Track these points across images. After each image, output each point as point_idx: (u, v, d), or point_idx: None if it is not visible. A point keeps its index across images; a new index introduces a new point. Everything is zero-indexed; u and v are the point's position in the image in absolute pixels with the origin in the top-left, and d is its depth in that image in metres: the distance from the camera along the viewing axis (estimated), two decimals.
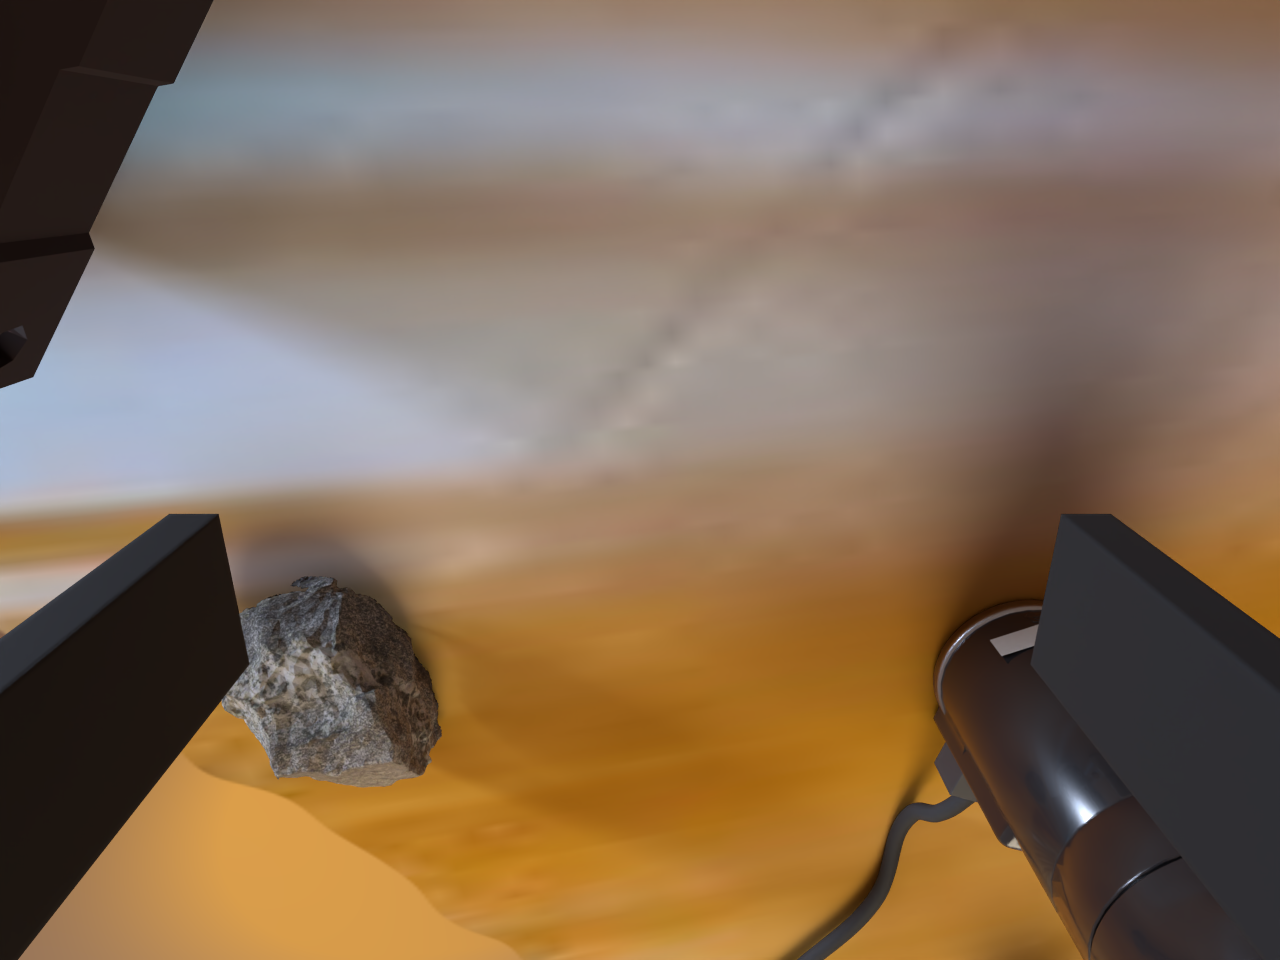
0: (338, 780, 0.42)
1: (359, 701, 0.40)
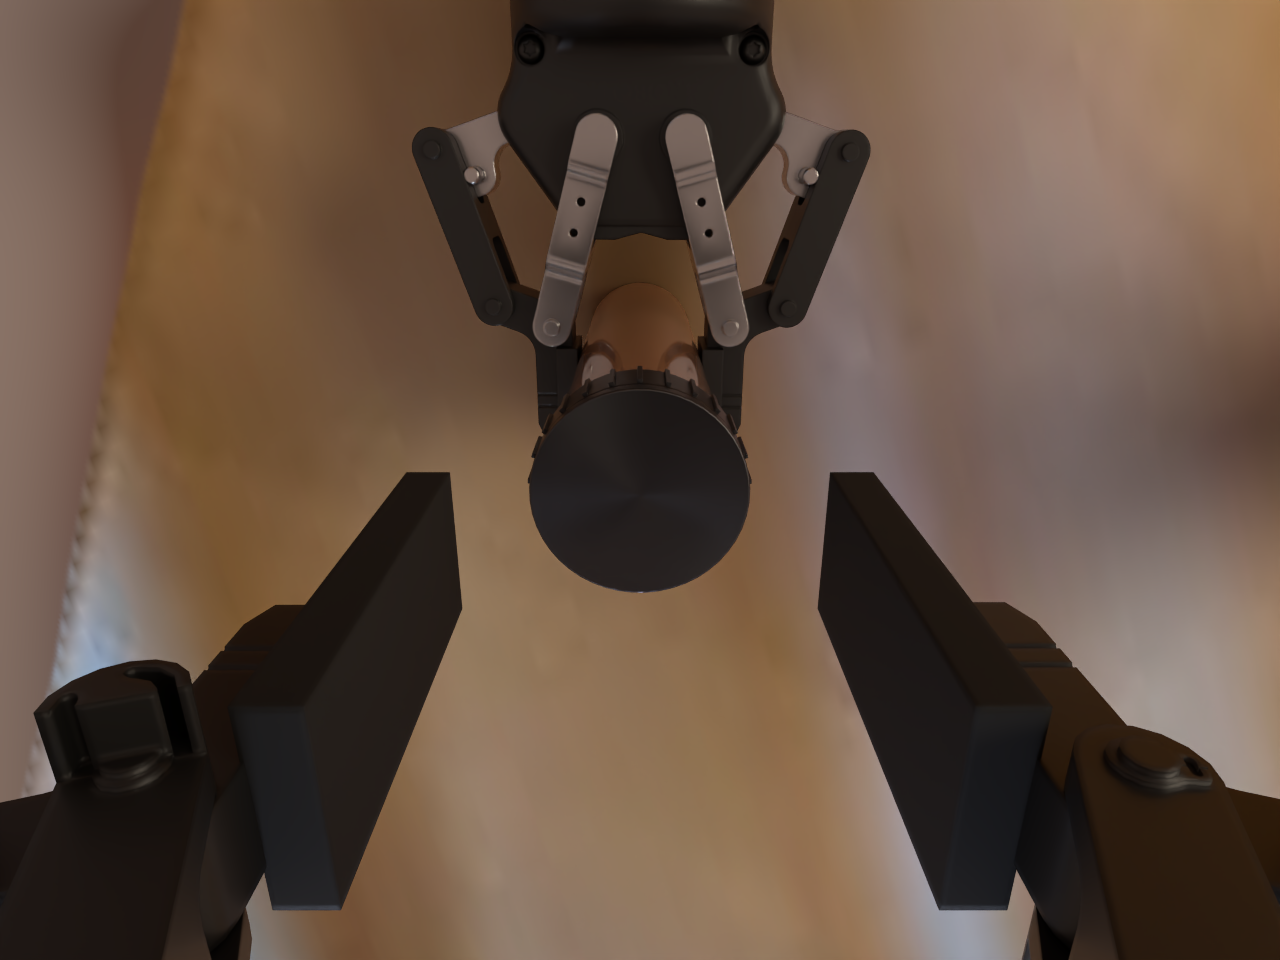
0: None
1: None
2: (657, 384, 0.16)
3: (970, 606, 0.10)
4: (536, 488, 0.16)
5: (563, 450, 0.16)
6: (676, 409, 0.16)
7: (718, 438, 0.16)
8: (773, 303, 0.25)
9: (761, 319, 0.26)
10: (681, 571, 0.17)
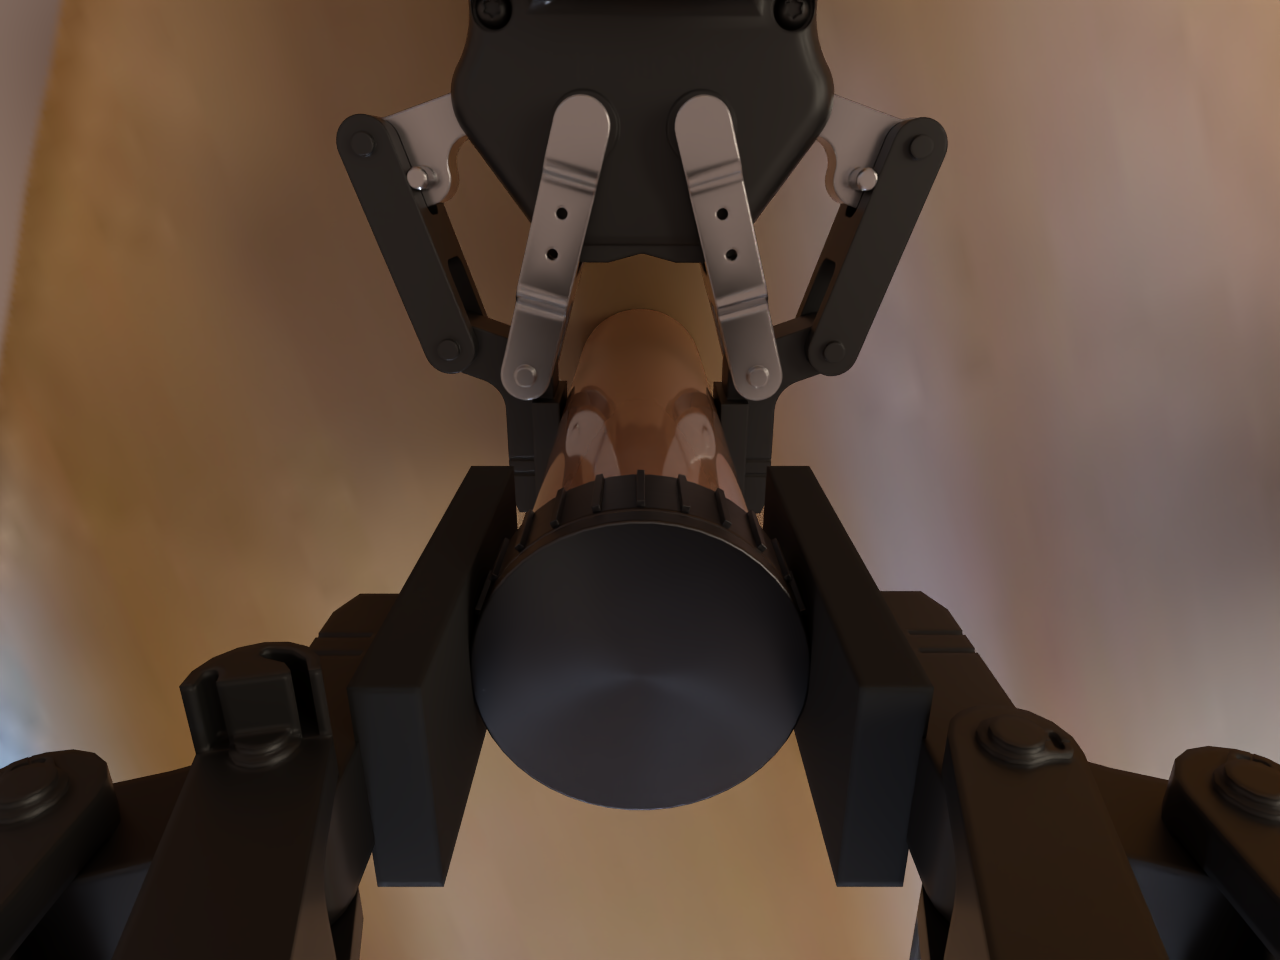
0: None
1: None
2: (668, 508, 0.10)
3: (875, 593, 0.10)
4: (480, 666, 0.11)
5: (520, 612, 0.10)
6: (698, 551, 0.10)
7: (764, 594, 0.10)
8: (814, 345, 0.19)
9: (797, 364, 0.20)
10: (703, 782, 0.11)
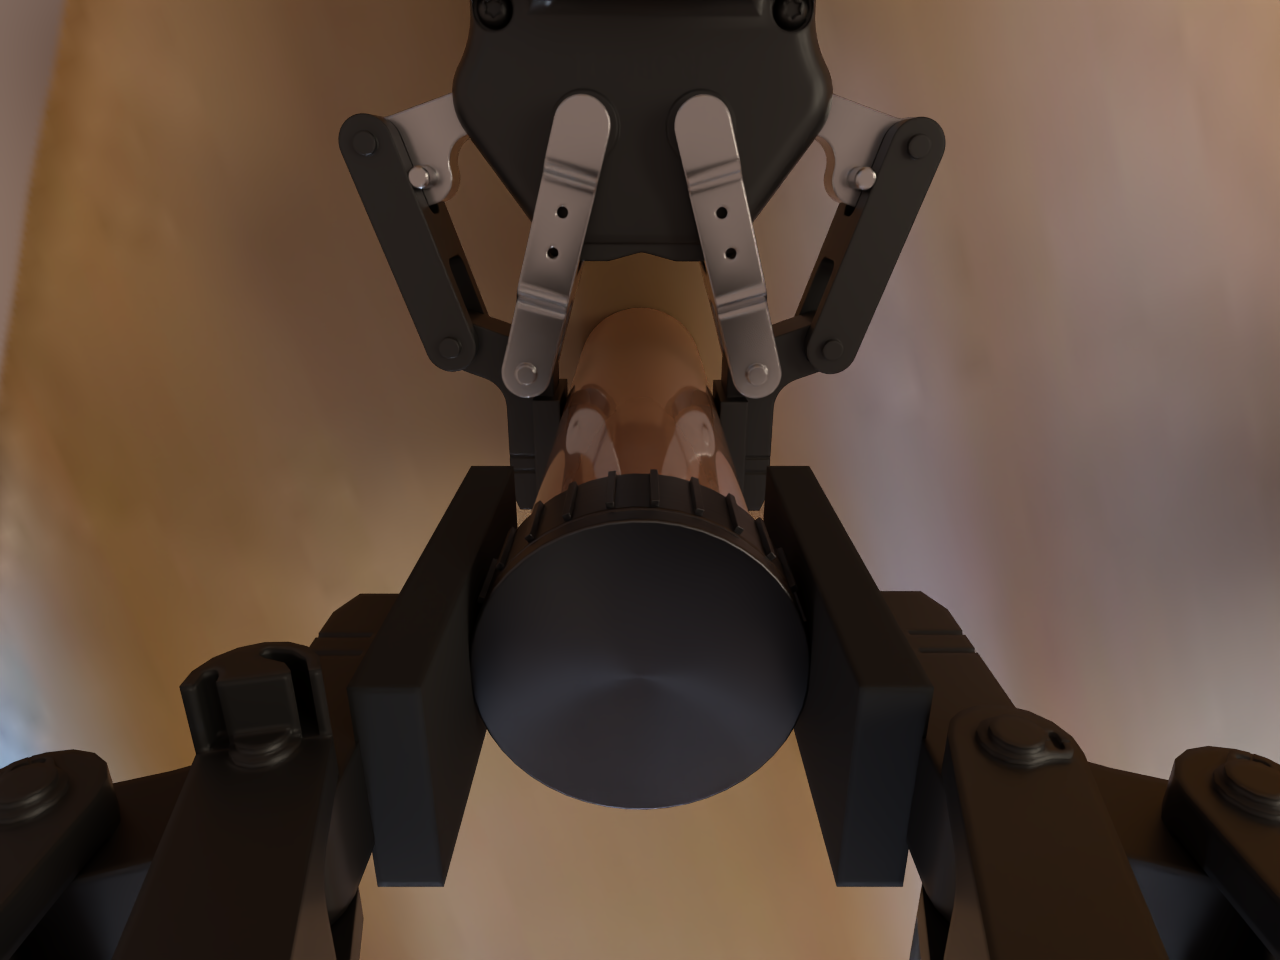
0: None
1: None
2: None
3: (876, 593, 0.10)
4: (606, 800, 0.11)
5: (553, 759, 0.11)
6: (506, 611, 0.10)
7: (559, 558, 0.10)
8: (813, 343, 0.19)
9: (796, 362, 0.20)
10: (782, 635, 0.10)
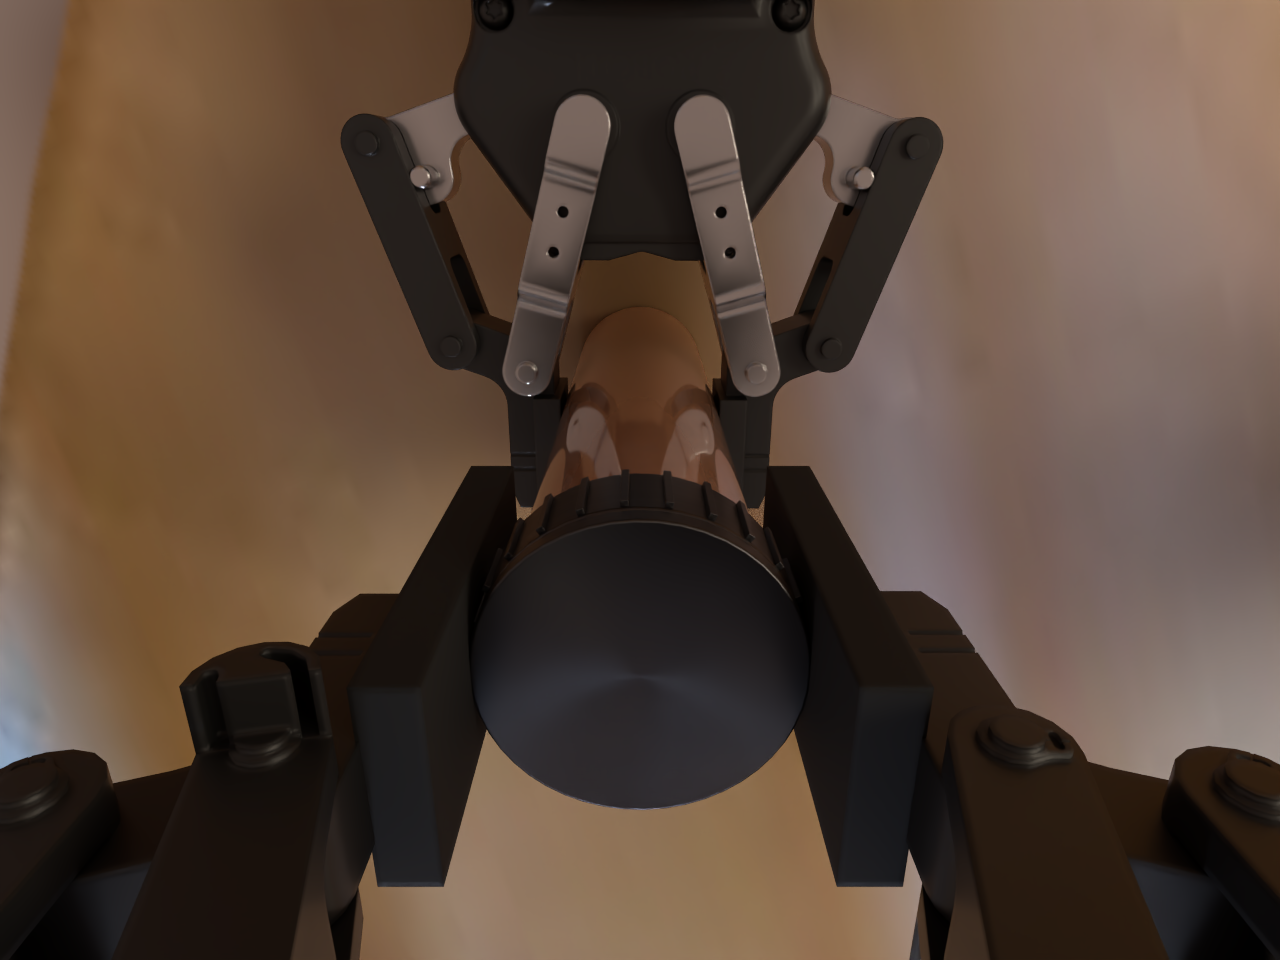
0: None
1: None
2: None
3: (876, 593, 0.10)
4: (785, 725, 0.11)
5: (725, 760, 0.11)
6: (552, 769, 0.11)
7: (502, 722, 0.11)
8: (812, 342, 0.19)
9: (795, 361, 0.20)
10: (610, 546, 0.10)
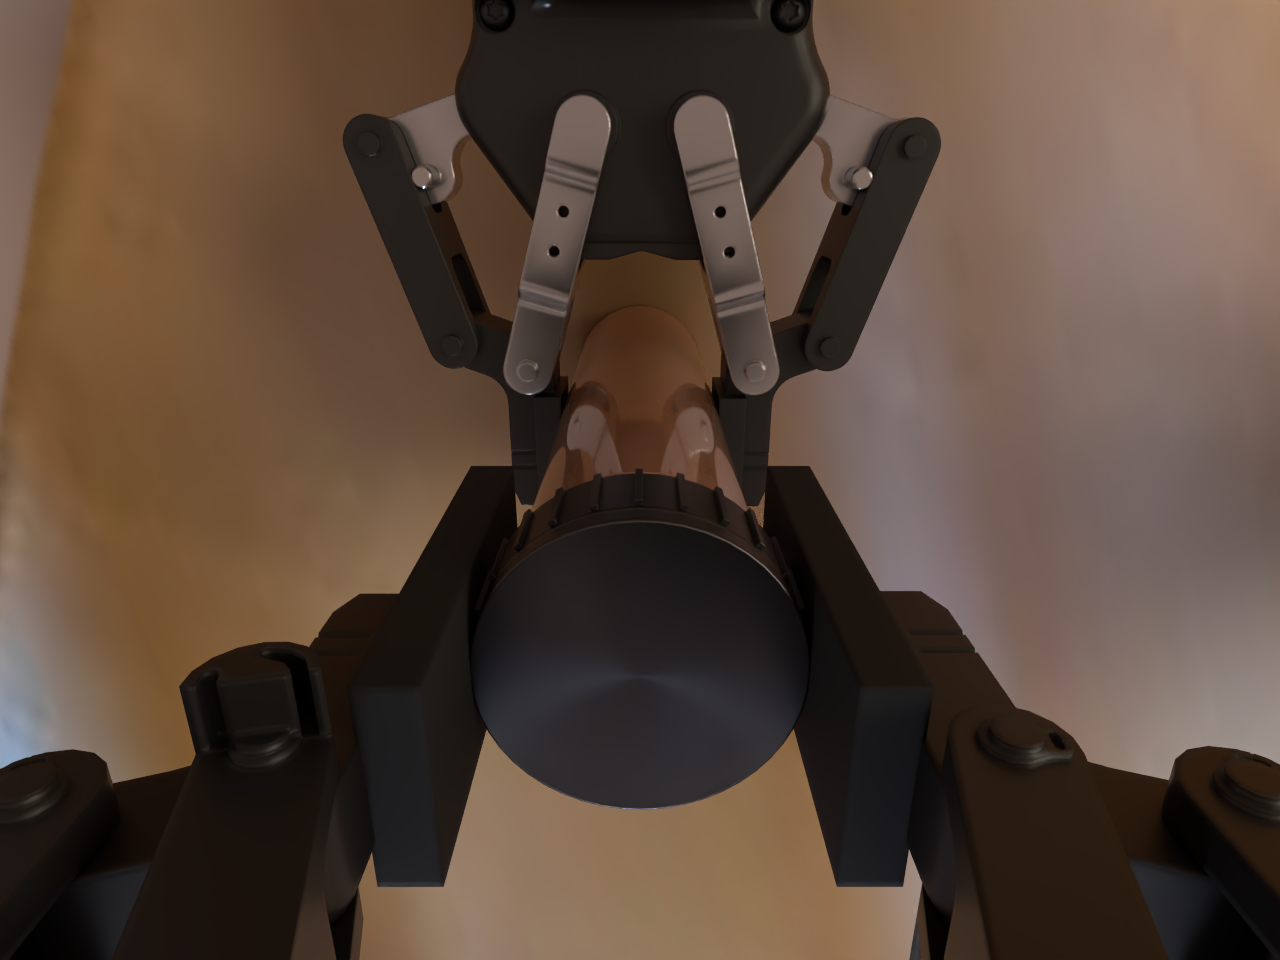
0: None
1: None
2: None
3: (876, 593, 0.10)
4: (724, 551, 0.10)
5: (759, 611, 0.10)
6: (738, 762, 0.11)
7: (673, 792, 0.11)
8: (811, 340, 0.20)
9: (794, 359, 0.20)
10: (492, 682, 0.11)
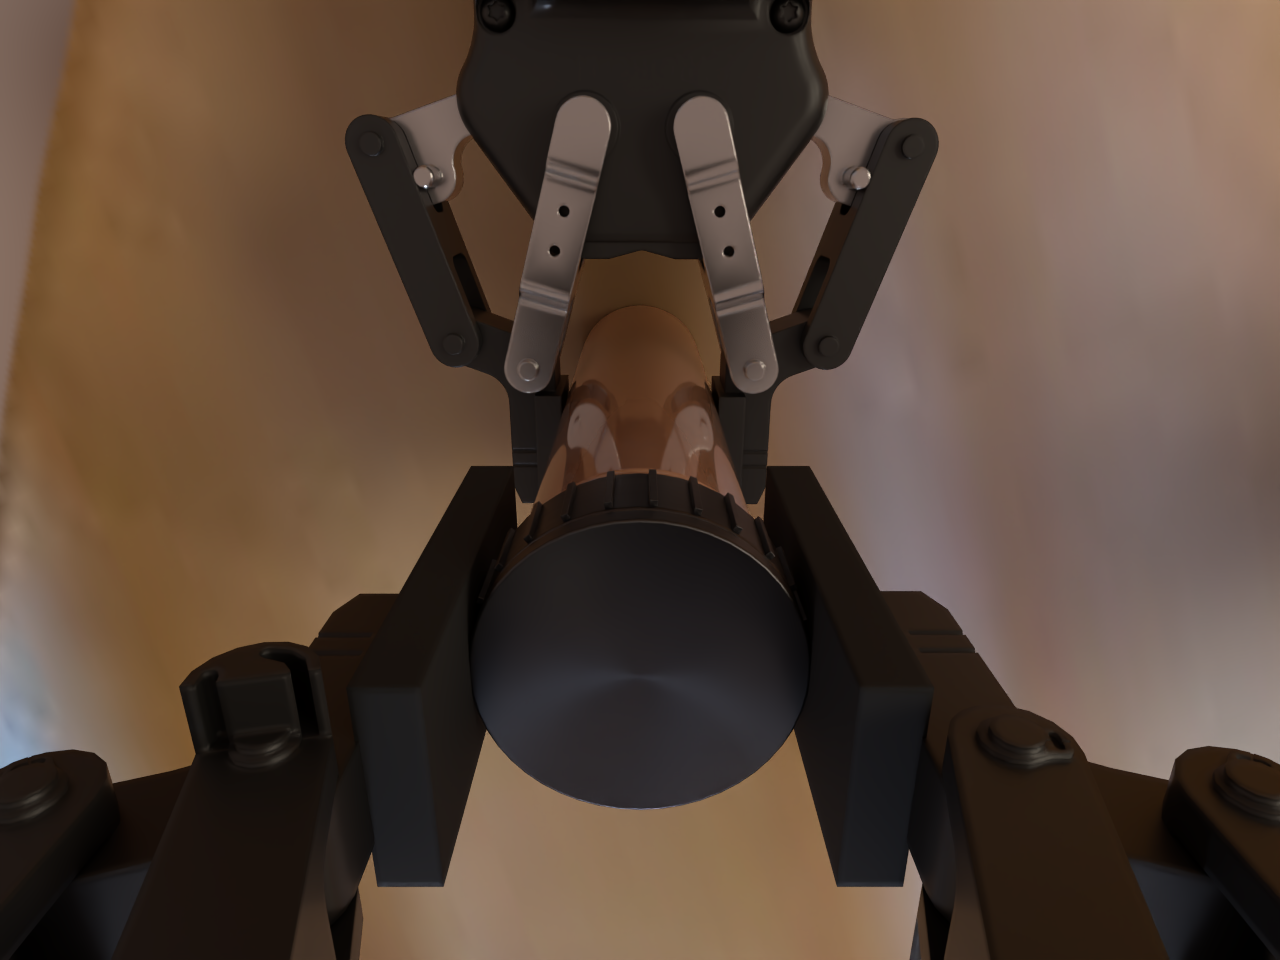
0: None
1: None
2: (756, 546, 0.10)
3: (876, 593, 0.10)
4: (507, 590, 0.10)
5: (580, 563, 0.10)
6: (766, 599, 0.10)
7: (791, 664, 0.11)
8: (809, 339, 0.20)
9: (793, 358, 0.20)
10: (625, 793, 0.11)
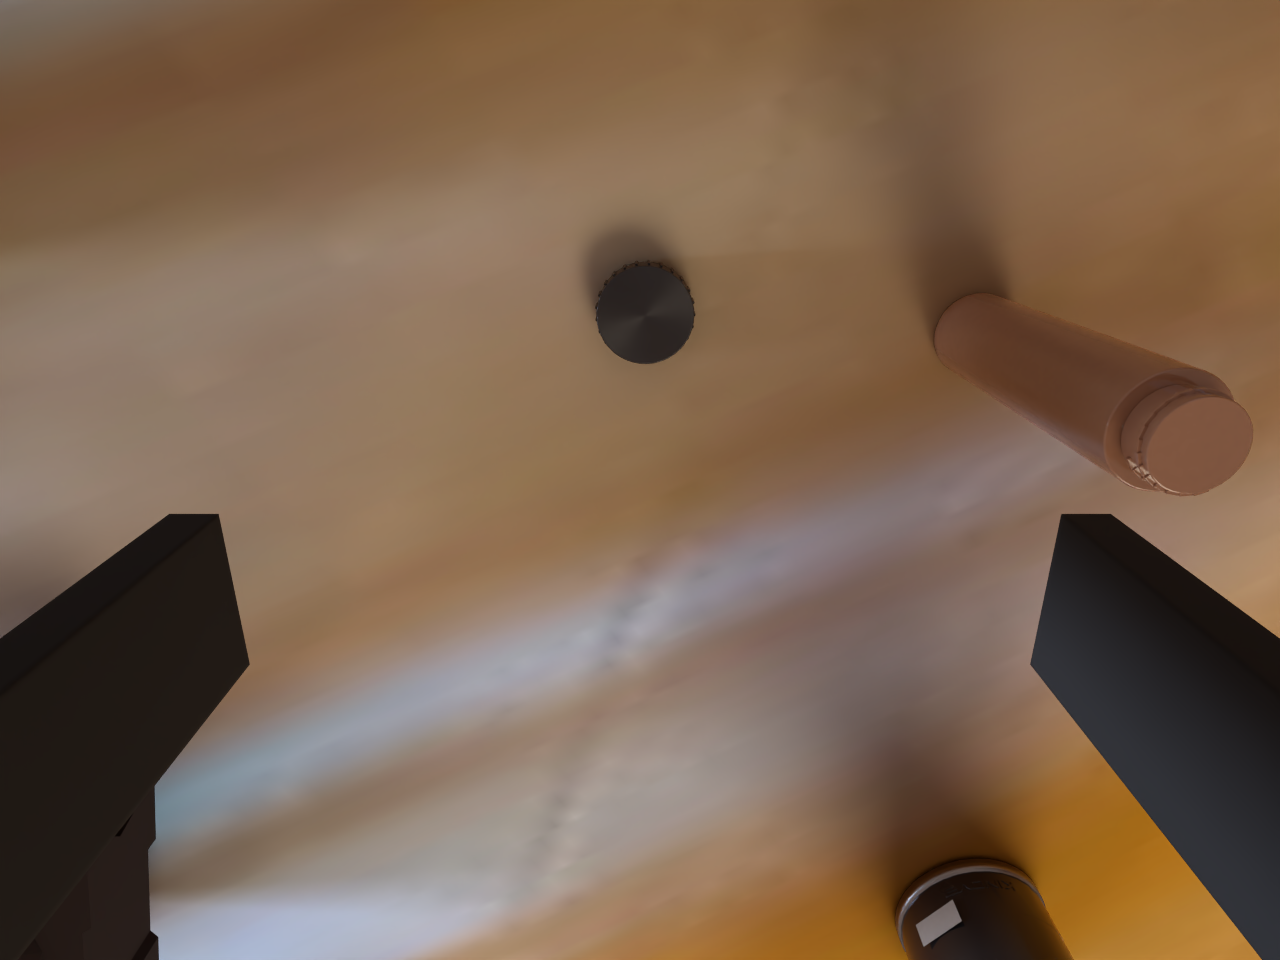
0: None
1: None
2: (677, 277, 0.37)
3: None
4: (608, 287, 0.37)
5: (628, 279, 0.37)
6: (680, 290, 0.37)
7: (688, 311, 0.37)
8: None
9: None
10: (641, 357, 0.38)
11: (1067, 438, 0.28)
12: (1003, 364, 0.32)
